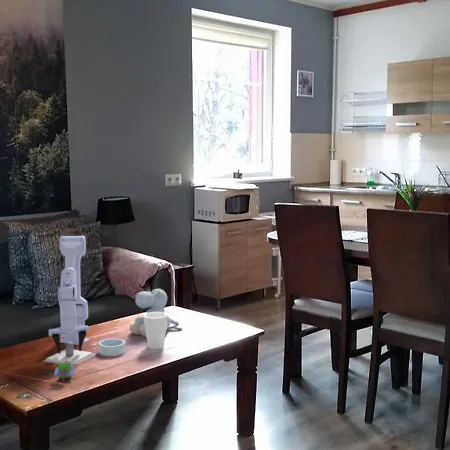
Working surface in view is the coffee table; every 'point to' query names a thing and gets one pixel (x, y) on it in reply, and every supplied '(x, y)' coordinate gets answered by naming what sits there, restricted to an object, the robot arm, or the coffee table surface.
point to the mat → (74, 364)
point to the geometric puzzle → (65, 370)
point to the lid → (69, 354)
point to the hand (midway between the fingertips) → (69, 351)
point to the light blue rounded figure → (150, 309)
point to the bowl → (112, 347)
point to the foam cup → (155, 329)
